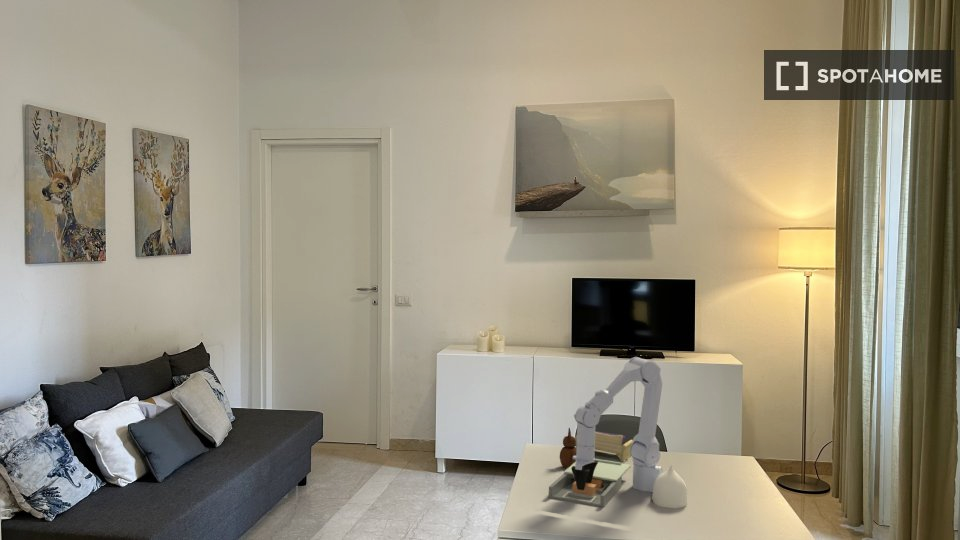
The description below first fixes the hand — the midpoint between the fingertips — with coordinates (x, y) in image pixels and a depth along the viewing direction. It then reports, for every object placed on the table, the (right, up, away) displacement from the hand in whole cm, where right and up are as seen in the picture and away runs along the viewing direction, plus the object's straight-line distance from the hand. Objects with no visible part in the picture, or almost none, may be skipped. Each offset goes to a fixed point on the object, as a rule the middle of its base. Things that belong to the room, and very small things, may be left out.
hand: (584, 486), depth 246 cm
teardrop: (+27, -5, -2) cm, 28 cm away
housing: (+1, -4, +2) cm, 4 cm away
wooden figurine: (-1, -2, +32) cm, 32 cm away
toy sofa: (+14, -2, +49) cm, 51 cm away
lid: (+7, +2, +14) cm, 16 cm away
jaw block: (0, -3, 0) cm, 3 cm away
